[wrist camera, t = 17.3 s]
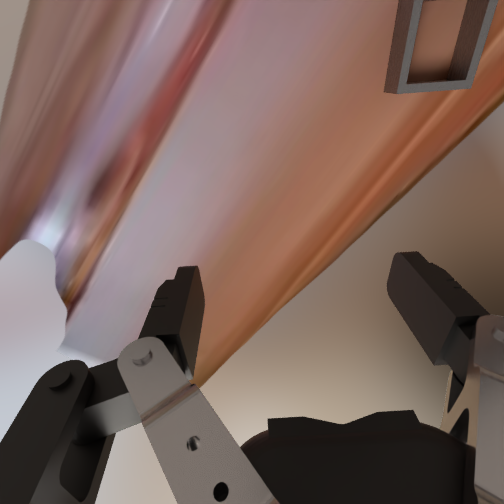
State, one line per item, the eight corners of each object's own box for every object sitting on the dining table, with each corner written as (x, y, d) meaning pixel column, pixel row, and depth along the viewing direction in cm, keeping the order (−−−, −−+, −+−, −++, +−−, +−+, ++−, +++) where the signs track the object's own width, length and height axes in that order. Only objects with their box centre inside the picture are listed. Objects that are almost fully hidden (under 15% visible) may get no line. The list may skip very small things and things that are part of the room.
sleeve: (400, -8, 34) (417, -17, 31) (479, -14, 34) (505, -24, 31) (383, 92, 40) (396, 94, 36) (451, 87, 40) (470, 88, 36)
